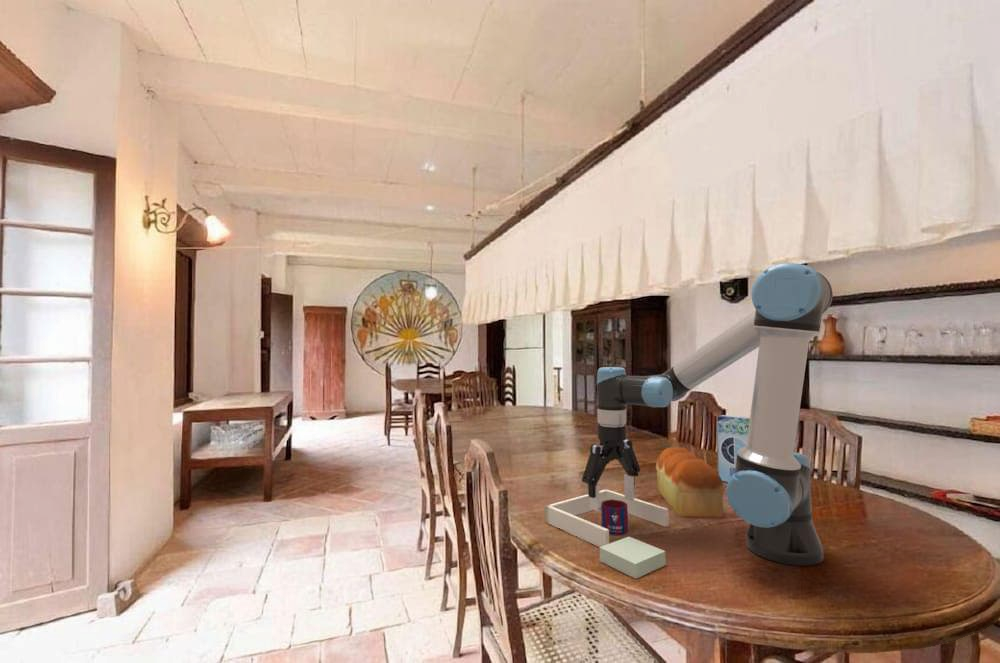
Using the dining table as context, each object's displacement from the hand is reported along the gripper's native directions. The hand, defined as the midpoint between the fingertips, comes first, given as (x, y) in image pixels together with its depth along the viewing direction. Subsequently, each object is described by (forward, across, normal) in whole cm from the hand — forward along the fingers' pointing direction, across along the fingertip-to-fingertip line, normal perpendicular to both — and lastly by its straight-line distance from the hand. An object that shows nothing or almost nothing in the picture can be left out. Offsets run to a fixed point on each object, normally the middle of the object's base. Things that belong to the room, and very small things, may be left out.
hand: (612, 504), depth 122 cm
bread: (+6, -33, +1) cm, 34 cm away
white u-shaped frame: (+6, 0, -2) cm, 6 cm away
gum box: (+6, -65, +4) cm, 65 cm away
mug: (+6, 0, +1) cm, 6 cm away
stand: (+6, +12, +17) cm, 21 cm away
